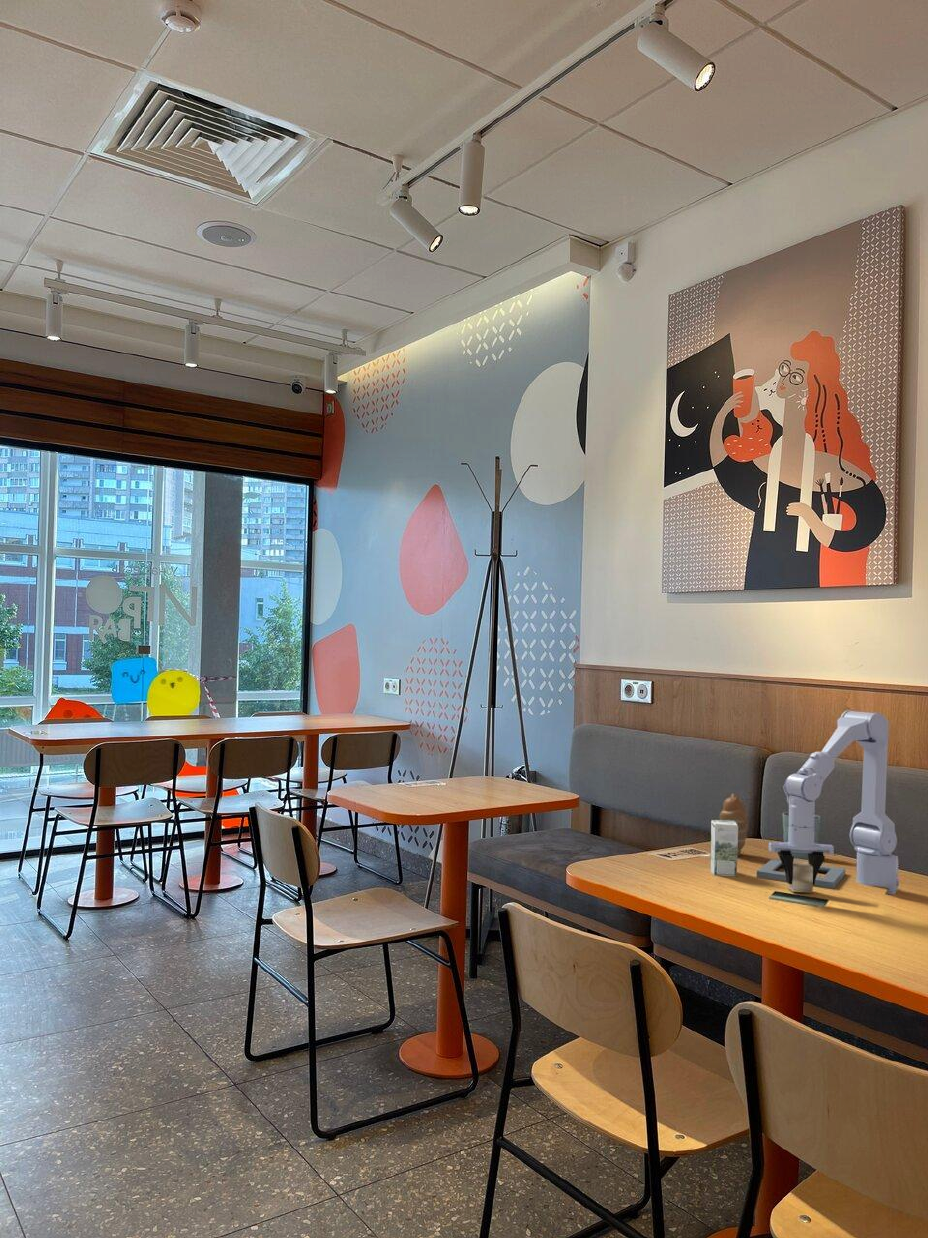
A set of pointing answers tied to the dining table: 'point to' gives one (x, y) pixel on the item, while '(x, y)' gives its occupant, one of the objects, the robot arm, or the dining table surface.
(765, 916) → the dining table surface
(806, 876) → the maple block
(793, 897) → the zone pad
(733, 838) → the syrup box
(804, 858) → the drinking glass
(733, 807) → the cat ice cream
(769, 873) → the box
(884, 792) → the robot arm
